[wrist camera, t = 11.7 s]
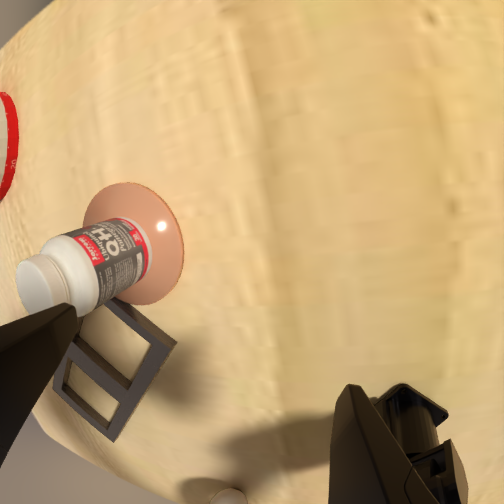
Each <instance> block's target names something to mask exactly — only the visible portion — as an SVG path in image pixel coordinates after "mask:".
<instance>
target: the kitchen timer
mask: <svg viewBox="0 0 504 504" xmlns="http://www.w3.org/2000/svg"><path fill="white" fill-rule="evenodd" d="M18 143H19V131H18V118H17V113H16V108H15V105H14V103H13V101H12V99H11V97H10V96H9V95H8V94H6V93H5V92H0V200H1V199H2V198H3V197H5V195H6V193H7V191H8V190H9V188H10V186H11V183H12V179H13V176H14V173H15V168H16V162H17V157H18Z"/></svg>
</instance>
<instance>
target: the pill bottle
mask: <svg viewBox="0 0 504 504" xmlns="http://www.w3.org/2000/svg"><path fill="white" fill-rule="evenodd" d="M151 264H152V247H151V244H150V241H149V238H148V236H147V235H146V233H145V231H144V230H143V228H142V227H141V226H140V225H139V224H138V223H136V222H135V221H133V220H132V219H129V218H126V217H115V218H112V219H108V220H105V221H101V222H99V223H96V224H92V225H89V226H86V227H83V228H80V229H77V230H74V231H71V232H68V233H65V234H61V235H58V236H55V237H53V238H51V239H49V240H48V241H47V242H46V243H45V244H44V245H43V247H42V249H41V251H40V254H36V255H34V256H31V257H29V258H27V259H25V260H23V261H21V262H20V263H19V264H18V266H17V270H16V285H17V289H18V293H19V296H20V298H21V301H22V303H23V305H24V307H25V309H26V310H27V311H28V313H29V314H30V315H31V314H34V313H37V312H39V311H42V310H45V309H47V308H50V307H53V306H55V305H58V304H61V303H64V302H66V303H69V304H71V305H74V306H75V308H76V312H77V317H81V316H84V315H86V314H88V313H90V312H91V311H93V310H94V309H96V308H97V307H99V306H100V305H102V304H103V303H105V302H107V301H108V300H110V299H111V298H113V297H114V296H116V295H118V294H119V293H121V292H122V291H124V290H126V289H127V288H129V287H131V286H132V285H134V284H135V283H137V282H138V281H140V280H141V279H143V278H144V277H145V276H146V275H147V273H148V272H149V270H150V268H151Z"/></svg>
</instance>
